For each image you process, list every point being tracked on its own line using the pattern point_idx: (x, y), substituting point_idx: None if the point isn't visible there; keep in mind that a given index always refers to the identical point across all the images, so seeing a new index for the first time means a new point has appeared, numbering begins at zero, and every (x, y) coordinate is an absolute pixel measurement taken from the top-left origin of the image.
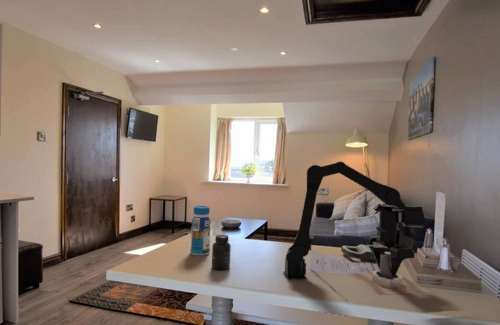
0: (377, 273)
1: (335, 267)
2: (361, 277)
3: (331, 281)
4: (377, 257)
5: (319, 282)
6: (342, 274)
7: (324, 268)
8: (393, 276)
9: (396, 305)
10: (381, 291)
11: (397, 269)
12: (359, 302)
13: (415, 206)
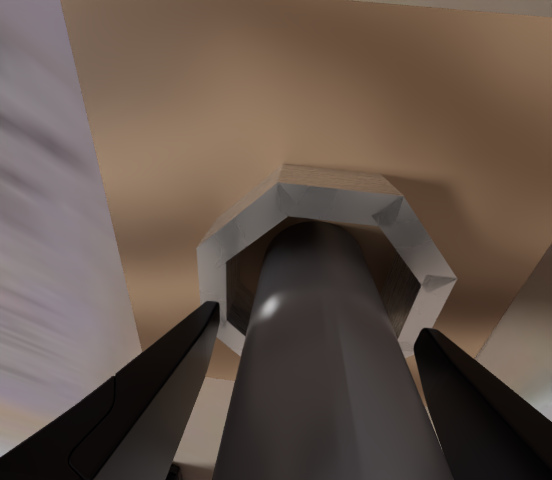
0: (231, 307)
1: (3, 328)
2: None
3: (207, 423)
4: (165, 467)
5: (214, 452)
6: (116, 353)
7: (38, 376)
8: (376, 288)
9: (527, 370)
10: (417, 377)
11: (506, 395)
12: None
13: None
